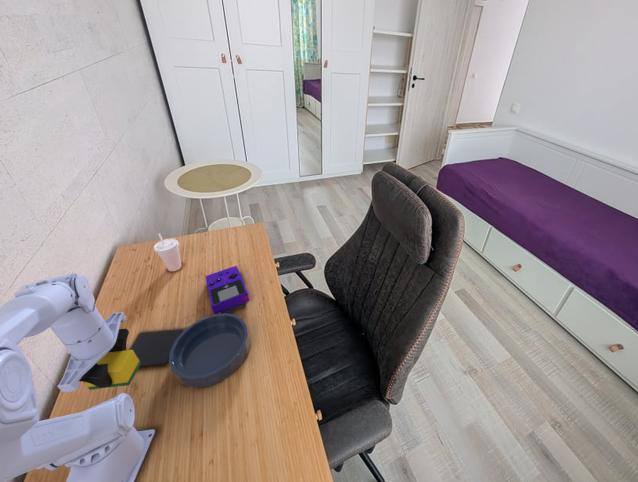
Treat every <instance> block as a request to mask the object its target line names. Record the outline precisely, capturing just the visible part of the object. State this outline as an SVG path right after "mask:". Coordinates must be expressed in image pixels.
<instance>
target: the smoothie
mask: <svg viewBox="0 0 638 482" xmlns="http://www.w3.org/2000/svg"><path fill="white" fill-rule="evenodd" d="M157 235H158V237H159V239H160V240H159V241H158V242H156V243H155V244H154V246H153V250H154V252H155V253H156V254H157V255H158V257H159V258H160V259H161V261H162V263H163V264H164V266H165V267H166V269H167V270H168V271H169V272H176V271H178V270H181V268H182V260H181V255H180V249H179V245H180V243H179V241H178V240H177V239H176V238H165V239H164V238H163V236H162V234H161V233H160V232H158V234H157Z"/></svg>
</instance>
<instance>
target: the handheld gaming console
mask: <svg viewBox="0 0 638 482" xmlns="http://www.w3.org/2000/svg"><path fill="white" fill-rule="evenodd" d="M204 277H205V283H206V287H207V291H208V295H209V299H210V307H211V310H212V311H213V315H214V314H223V313H228V314H231V313H232V312H235V311H237V310H239V309H241V308H244V304H246V303H249V301H250V297H249V293H248V290H247V288H246V285H245V283H244V280H243V277H242V275H241V273H240V270H239V268H238V265H234V266H231V267H228V268H225V269H221V270H219V271H216V272H214V273H211V274H207V275H205V276H204Z"/></svg>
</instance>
